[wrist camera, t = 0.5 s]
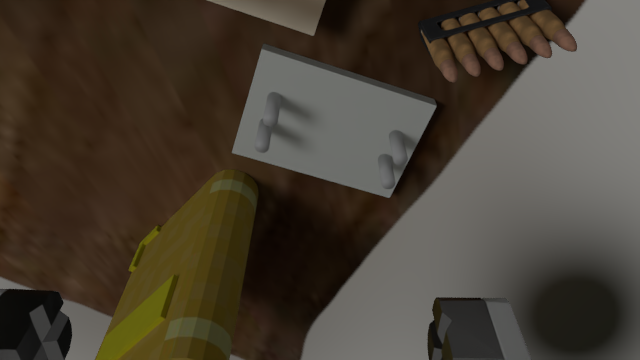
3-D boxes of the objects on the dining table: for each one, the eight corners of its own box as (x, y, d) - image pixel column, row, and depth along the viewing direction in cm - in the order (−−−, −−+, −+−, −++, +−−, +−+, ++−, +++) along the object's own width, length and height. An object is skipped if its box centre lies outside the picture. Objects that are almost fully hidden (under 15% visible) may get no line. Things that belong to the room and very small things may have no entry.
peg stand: (263, 43, 52) (256, 67, 47) (434, 99, 55) (445, 127, 50) (233, 145, 58) (225, 176, 53) (388, 190, 61) (393, 223, 56)
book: (185, 270, 68) (124, 467, 48) (140, 242, 66) (55, 438, 45) (271, 192, 61) (244, 384, 41) (225, 158, 59) (170, 344, 38)
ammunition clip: (421, 40, 51) (444, 95, 41) (417, 21, 50) (440, 73, 40) (536, 8, 49) (588, 58, 40) (535, -12, 48) (588, 34, 39)
